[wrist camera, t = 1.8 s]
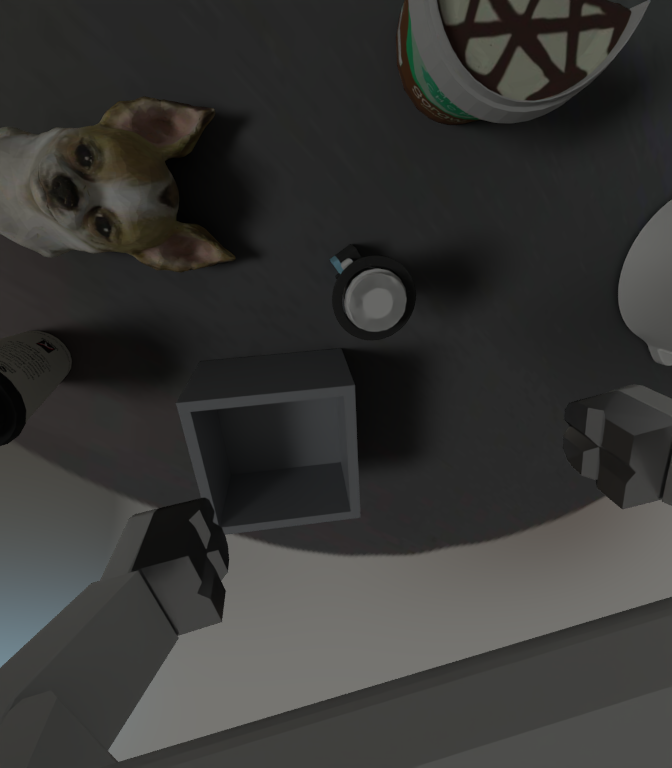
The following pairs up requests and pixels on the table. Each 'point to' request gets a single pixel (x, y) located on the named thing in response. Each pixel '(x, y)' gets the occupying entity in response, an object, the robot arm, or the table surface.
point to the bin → (274, 439)
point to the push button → (371, 294)
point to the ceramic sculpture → (107, 187)
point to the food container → (506, 54)
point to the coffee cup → (28, 377)
